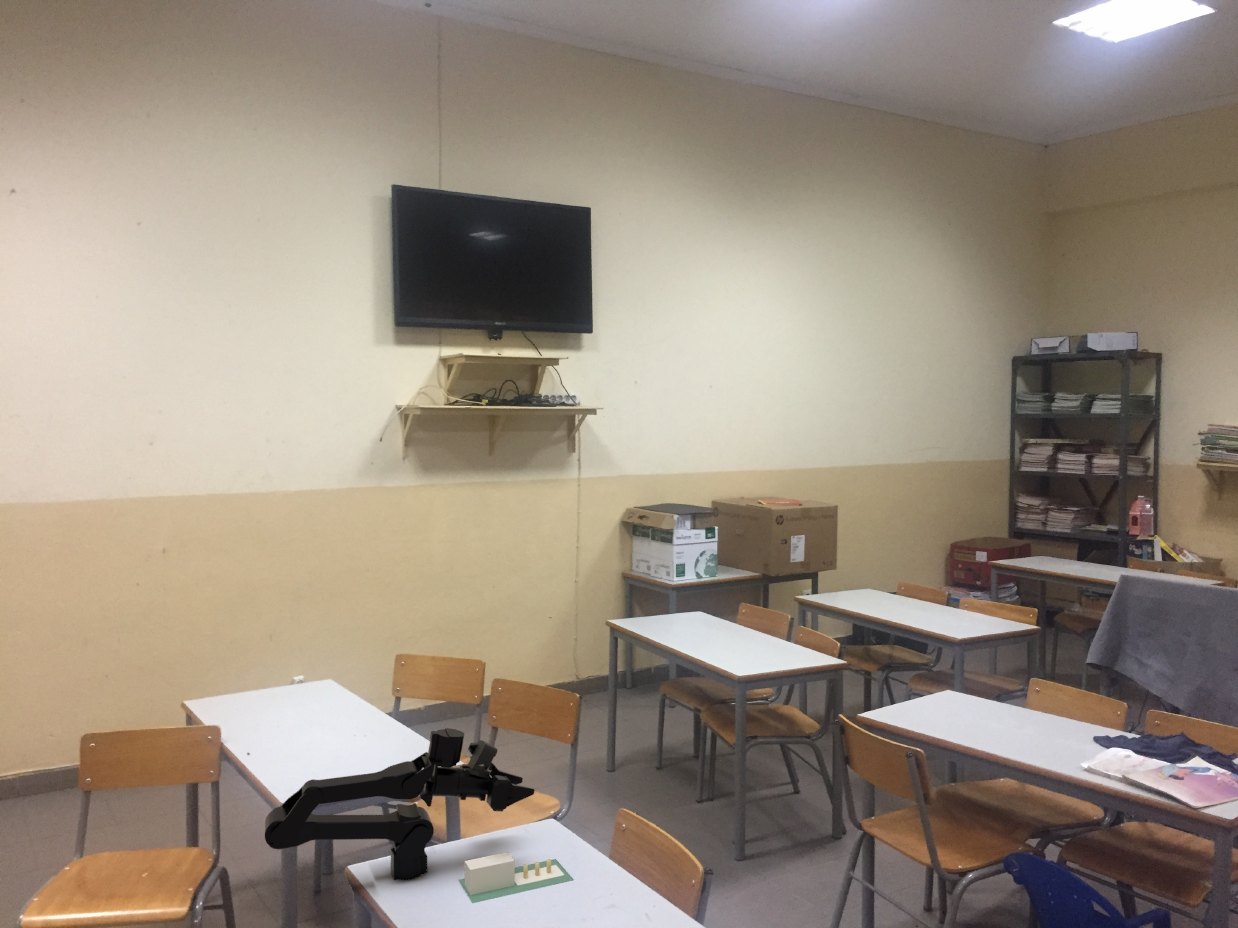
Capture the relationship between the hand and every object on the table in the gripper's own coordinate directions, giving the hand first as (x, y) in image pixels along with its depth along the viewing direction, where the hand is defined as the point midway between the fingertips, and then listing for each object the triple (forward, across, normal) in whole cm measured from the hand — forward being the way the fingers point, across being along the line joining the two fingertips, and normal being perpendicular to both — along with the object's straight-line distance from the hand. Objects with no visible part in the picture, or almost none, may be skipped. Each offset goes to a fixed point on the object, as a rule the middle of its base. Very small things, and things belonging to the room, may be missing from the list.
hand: (528, 785), depth 196 cm
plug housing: (-8, -9, +17) cm, 21 cm away
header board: (-2, -9, +17) cm, 19 cm away
